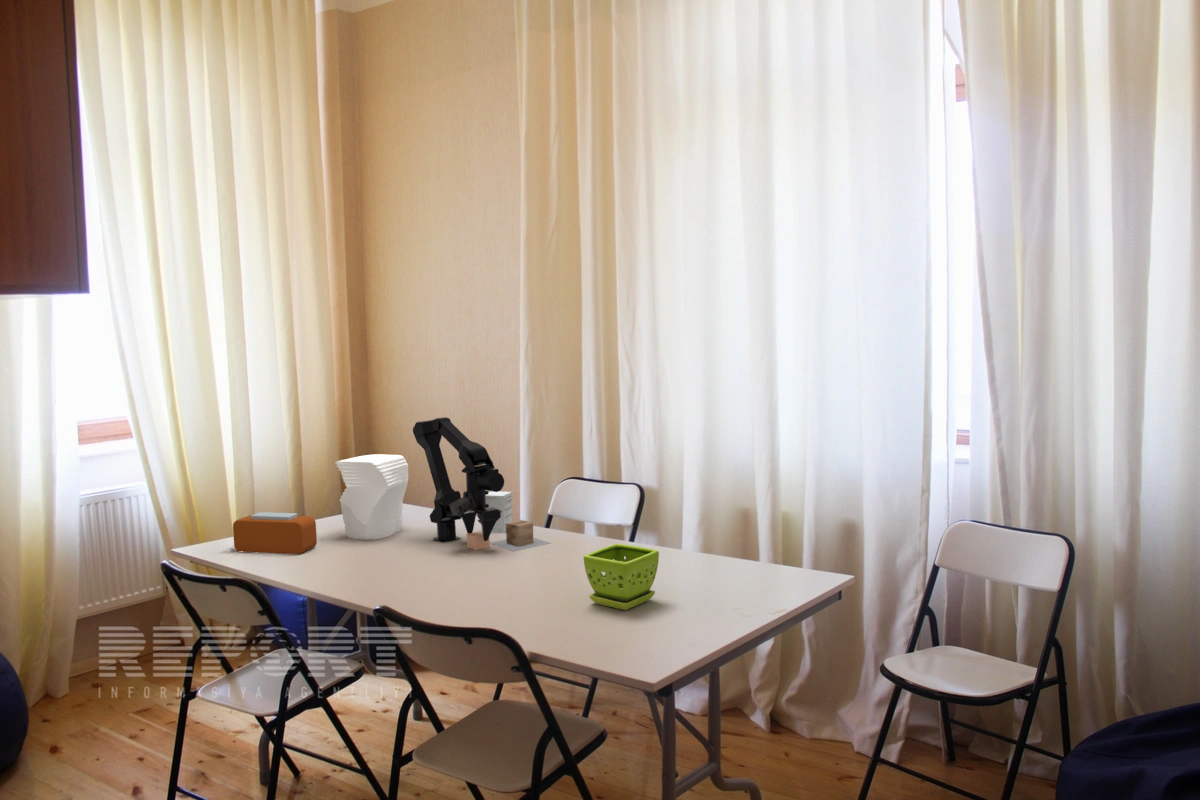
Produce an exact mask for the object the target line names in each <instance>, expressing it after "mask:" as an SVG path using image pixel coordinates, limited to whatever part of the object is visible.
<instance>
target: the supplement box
mask: <svg viewBox="0 0 1200 800" xmlns="http://www.w3.org/2000/svg"><path fill="white" fill-rule="evenodd" d="M512 493H513V492H512V491H501V490H500V491H498V492H493V491H488V494H487V495H486V504H489V508H496V509H499V510H500V511H501V518H499V520H498V521H496V523H495V525H494V527H493V529H492V531H491V533H503V534H504V533H505V534H506V523H509V522H513V498H512V497H513V496H512V495H513V494H512ZM485 509H486V508H485Z"/></svg>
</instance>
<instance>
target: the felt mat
mask: <svg viewBox="0 0 1200 800" xmlns="http://www.w3.org/2000/svg"><path fill="white" fill-rule="evenodd" d="M489 543H490V545H493V546H496V547H498V548H501V549H505V550H507V551H511V552H518V551H522V550H523V551H524V550H527V549H533V548H536V547H541V546H544V545H545V546H546V545H549V544H552V543H551V542H549V541H546V540H542V539H539V538H535V537H533V543H532V544H527V545H522V546H518V547H517V546H514V545H511V544H508V543H507V540H506V539H501V540H497V541H491V542H489Z"/></svg>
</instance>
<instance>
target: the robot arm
mask: <svg viewBox="0 0 1200 800" xmlns="http://www.w3.org/2000/svg"><path fill="white" fill-rule="evenodd" d="M412 433H413V436H414V439H415V441H416V443H417V445H419V446H420V447H421V448H422V449H423V450H424V454H425V456H426V457H425V458H426V460H427V464H428V468H429V471H430V474H431V478H432V481H433V484H434V489H435V491H436V493H435V496H434V497H435V498H434V500H433V503H434V504H433V505H434V508H433V510H432V511H431V513H430V514H429V519H430V520H429V521H430V522H431V523H434V524H436V534H437V536H436V537H433V538H432V539H433V541H434V540H435V541H437V542H440V543H447V542H453V541H459V540H461V537H459V536H457V531H456V529H457V528H456V521H457V520H458V521H459V520H462V521H463V525H464V527H465V530H466V532H467V533H466V534H469V533H474V528H475V521H476V517H477V518H478V519H477V522H478V523H479V524H480V525H481V532H483V538H484V541H487V540H488V538H489V539H490V536H491V535H492V532H491V531H492V529H493V527H494V525H495V523H496V521H498V520H499V518H501V511H500V510H499V509H496V508H489V504H486V495H487V494H488V493H489V492H491V491H493V492H498V491H501V490H502V489H503V488H504V486H505V479H504V476H503V475H502V473H499V468H495V465H494V462H493V461H492V459H491V457H490V454H489V453H488V451H487V449H486V448H485V447H484V445H481V444H480V443H478V442H475V441H472V440H470V439H469V438H468V437H467V436H466V435H465V434H464V433H463V432H461V430H460V429H458V428H457V426H455V425H454V423H452V421H451V419H450V417H436V418H434V419H429V420H422V421H417V422H415V423H414V425H413V428H412ZM442 437H443V438H444V439H445V440H446V441H447V442H448V443H449V444H450V445H451V446H452V447H453V448H454V449H455V451H457V453H458V459H459V460H460V461H461V463H462V464H463V465H464V468H462V470H461V473H463V474H465V481H466V491H465V490H464V492H463V493H462V494H463V496H462V497H461V492H460V490H456V491H455V490H454V488H452V484H451V482H450V477H449V474H448V471H447V468H446V463H445V461H444V456H443V453H442V450H441V446H440V444H441V440H442ZM485 508H486V509H485Z"/></svg>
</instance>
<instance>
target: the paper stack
mask: <svg viewBox="0 0 1200 800" xmlns="http://www.w3.org/2000/svg"><path fill="white" fill-rule="evenodd" d="M335 464H336V468H338V472H340V475H341V479H342V481H343V483H344V485H345V488H344V491H343V492H342V495H340V498H339V501H340V502H339V503H340V508H341V515H342V520H343V523H344V528H345V534H346V536H347V537H348V538H349V539H354V540H362V541H363V540H365V541H369V540H370V541H371V540H372V541H373V540H379V539H383V538H387V537H390V536H392V535H394V534H396V533H399V532H400V531H401V530H402V528H403V518H404V517H403V504H404V503H403V502H404V497H405V494H406V491H407V487H408V483H409V480H410V479H409V463H407V460H406V459H405V456H403V455H400V454H386V453H385V454H383V453H382V454H381V453H379V454H377V453H375V454H366V455H365V454H364V455H360V456H359V455H358V456H355V457H350V458H345V459H341V460H336V461H335V463H334V465H335Z"/></svg>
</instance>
